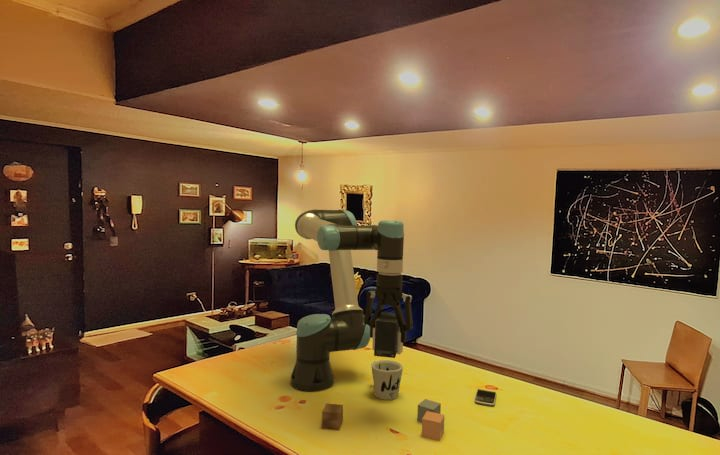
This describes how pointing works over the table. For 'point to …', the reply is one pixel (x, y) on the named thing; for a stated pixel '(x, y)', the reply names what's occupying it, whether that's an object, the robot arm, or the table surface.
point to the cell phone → (485, 397)
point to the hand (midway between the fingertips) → (387, 350)
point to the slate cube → (427, 408)
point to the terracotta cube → (433, 425)
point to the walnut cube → (332, 416)
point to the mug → (386, 378)
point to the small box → (386, 335)
